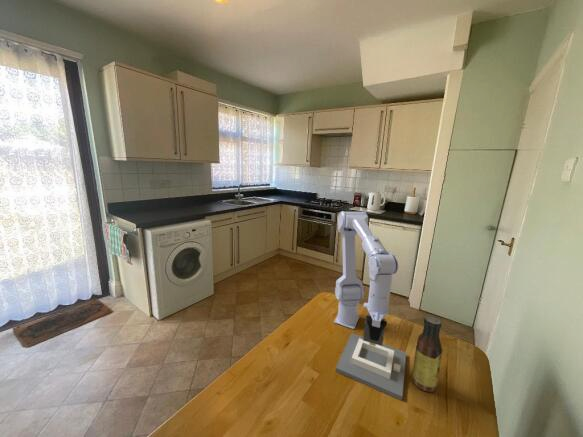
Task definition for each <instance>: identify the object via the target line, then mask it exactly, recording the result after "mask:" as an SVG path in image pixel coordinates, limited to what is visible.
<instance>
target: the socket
mask: <svg viewBox="0 0 583 437" xmlns="http://www.w3.org/2000/svg"><path fill="white" fill-rule="evenodd" d="M363 338H364V336H361V335H358V334H355V333H352V332H351V334H350V336H349V338H348V340H347V342H346V345H345V347H344V349H343V351H342V353H341V355H340V358H339V360H338V361H337V365H336V367H335V372H337V373H339V374H341V375H344V376H346V377H348V378H350V379H353V380H355V381H357V382H359V383H362V384H364V385H366V386H369V387H371V388H373V389H375V390H377V391H380V392H381V393H382V392H383V393H385V394H387V395H389V396H391V397H394V398H396V399H398V400H400V401H402V400H403V394H404V383H405V382H404V381H405V372H406V361H407V360H406V359H407V352H406V351H404V350H401V349H398V348H395V347H392V346H390V345H387V344H382V346H381V345H377V344H376V346H372V345H369V342H367V341H363Z"/></svg>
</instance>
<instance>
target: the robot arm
mask: <svg viewBox="0 0 583 437" xmlns="http://www.w3.org/2000/svg"><path fill="white" fill-rule="evenodd" d="M368 224H369V216H368V214H367V212H366V211H344V210H342V211H340V212H339V213H338V217H337V231H338V233H340V234H341V238H342V239H341V240H342V243H341V244H342V250H341V251H342V275H341V276H339V278H337V279H336V281H335V288H334V295H335V298H336V299H337V301H338V305H337V306H338V308H337V309H338V310H337V315H336V317H335V319H334V320H333V322H334V323H335V324H336V325H340V326H343V327H346V328H349V329H352V330H354V329H355V328H356V326H357V323H358V322H359V319H360V315H359V314H358V309H359V304H360V301H362V300H363V299H364V294H365V292H364V288H363V282H362V280H361V279H360V278H359V277H357V273H356V271H357V270H356V269H357V268H356V235H357V234H358V236H359V237H360V239H361V241H362V242H361V247H362V248H363V251H364V253H365V255H366V257H367V259H368V262H367V264H368V275H369V276H368V277H369V278H370V279H369V281H370V282H369V290H368V300H367V302H364V303H363V306H362V307H363V308H364V309H366V310H367V311H368V313H369V314H366V315H367V316H365V321H366V322H367V324H368V327H369V333H370V339H371V340H374V341H378V339H379V337H380V334H381V332H382V330H383V329H384V330H385V328H386V327H387V325H388V321H387V320H385V321H383V320H382V319H385V317H386V316H387V315H388V314H389V312H390V311H389V310H390V309H389V303H390V298H391V297H390V296H391V290H392V289H391V287H392V280H393V275H395V274H397V272H398V270H399V262H398V258H397V257H396V255H395V254H394V253H391V251H387V249H386V247H385V246H384V245H383V243H382V242H381V240H380V238H379V237H378V236H376V235H373V233H372V231H371V229H370V226H369V225H368ZM368 315H369V316H368Z"/></svg>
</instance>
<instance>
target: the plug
mask: <svg viewBox="0 0 583 437" xmlns="http://www.w3.org/2000/svg"><path fill="white" fill-rule="evenodd" d="M367 315H368V316H370V314H366V316H367ZM366 316H365V317H366ZM382 320H383V321H386V319H385V318H383V319H382ZM364 321H365V322H364V330H363V337H364V338H363V341H367V342H369V345H372V346H376V344H377V345H381V346H382V344H383V342H384V335H385V328H384V329H383V330H382V332H381V334H380V337H379V339H378V341H374V340H371V339H370V333H369V327H368V324H367V322H366V320H364Z"/></svg>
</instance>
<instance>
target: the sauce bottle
mask: <svg viewBox="0 0 583 437" xmlns="http://www.w3.org/2000/svg"><path fill="white" fill-rule="evenodd" d="M423 323H424V324H423V325H424V326H423V330H422V332H421V333H420V334H419V335H418V336H417V339H416V340H417V341H416V345H415V352H414V359H413V365H412V374H411V375H412V376H411V377H412V382H413V384H414V385H415V386H416V387H417V388H419V389H420V390H421V391H424V392H428V393H432V392H434V391H436V388H437V386H438V382H439V375H440V368H441V363H442V356H443V348H442V347H443V346H442V343H441V339H440V330H441V328H442V321H441V319H439V318H438V317H436V316H433V315H426V316H424V318H423Z"/></svg>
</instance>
